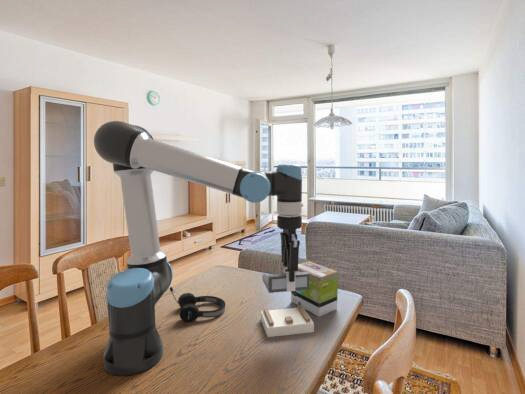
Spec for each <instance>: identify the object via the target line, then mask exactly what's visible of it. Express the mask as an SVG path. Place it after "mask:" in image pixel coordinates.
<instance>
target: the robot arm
mask: <svg viewBox="0 0 525 394" xmlns="http://www.w3.org/2000/svg"><path fill="white" fill-rule="evenodd" d="M93 144H94V148H95V149H94V150H95V151H96V153H97V154H98V156H99V157H101V158H102V160H104V161H106V162H108V163H110V164H112V167H113V168H112V170H113V173H114V174H115V175H117V176H118V177H119V178H120V185H121V191H122V198H123V199H122V200H123V206H124V213H125V220H126V227H127V228H126V229H127V234H128V242H129V249H130V256H129V257H128V259H127V260H126V268H127V269H124V270H123V271H120V272H117V273H115V274H114V275H112V276H111V277H110V278H109V280H108V281H107V284H106V294H105V299H106V306H107V323H108V334H109V336H108V339H107V343H106V346H105V350H104V353H103V358H102V359H103V368H104V370H105V371H106V373H108V374H111V375H114V376H124V377H125V376H131V375H136V374H139V373H141V372H144V371H146V370H149V369H151V368H152V367H153V366H155V365H156V364H157V363H158V362H159V361H160V360H161V359H162V357H163V355H164V344H163V340H162V338H161V336H160V333H159V331H158V329H157V326H156V311H155V310H156V309H155V308H156V305H157V303H158V302H159V301H160V299H161V298H162V297H163V295H165V293H166V292H168V291H167V290H168V289H170V287H171V284H172V281H173V277H174V272H173V267H172V265H171V264H170V262H168V259H167V254H166V252H164V251H163V250H161V244H160V236H159V228H158V222H157V214H156V206H155V200H154V199H155V198H154V190H153V184H152V183H153V182H152V173H153V172H158V173H161V174H165V175H167V176H171V177H174V178H178V179H180V180H184V181H188V182H191V183H194V184H198V185H200V186H204V187H208V188H210V189H213V190H214V189H215V190H217V191H221V192H224V193H227V194H230V195H233V196H236V197H239V198H243V199H244V200H245V201H248V202H250V203H254V204H255V203H256V204H257V203H261V202H263V201H265V199H267V198H268V197H269V196H270V197H273V196H274V197H275V196H276V214H277V216H276V223H277V224H276V226H277V227H278V229H281V230H282V231H281V232H280V233H279V235H280V244H281V245H280V248H281V249H280V251H281V263H282V265H283V273H286V291H285V292H291V291H295V271H298V264H299V255H300V243H301V242H300V240H298V234H297V229H298V230H299V229H301V228H302V227H303V225H302V224H303V223H302V222H303V221H302V219H303V218H302V215H301V214H302V212H303V211H302V208H303V207H304V204H303V203H302V201H303V200H302V198H303V192H302V191H303V176H302V175H303V174H302V166H301V165H299V164H278V165H277V166H276V170H272V171H271V170H270V171H267V170H265V171H263V170H262V171H258V170H255V171H254V170H251V169H248V168H246V167H245V168H244V167H241V166H238V165H235V164H232V163H230V162H226V161H223V160H219V159H216V158H212V157H210V156H206V155H203V154H200V153H196V152H193V151H191V150H187V149H185V148H181V147H179V146H178V147H177V146H175V145H171V144H168V143H165V142H162V141H158V140H156V139H155V137H154V135H153V133H151V132H150V131H148V130H147V129H146V128H144V127H143V126H140V125H136V124H130V123H127V122H124V121H120V120H111V121H107V122H105V123H104V124H102V125H100V127H99V128H97V130H96V132H95V134H94V137H93Z"/></svg>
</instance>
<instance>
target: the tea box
mask: <svg viewBox="0 0 525 394" xmlns="http://www.w3.org/2000/svg"><path fill="white" fill-rule="evenodd" d="M296 272H308V273H309V289H308V290H297V291H290V299H291V300H290V301H291V303H294V304H295V305H296V306H297V305H301V307H303V308H304V309H305V311H308V312H309V313H311V314H313V315H315V317H316V316H317V318H320V317H322V316H325V315H327V314H330V313H332V312H334V311H336V310H337V309H338V294H339V290H338V288H339V287H338V286H339V272H338V271H337V270H334V269H331V268H330V267H329V268H328V267H327V266H324V265H321V264H318V263H316V262H312V261H310V260H309V261H308V260H307V261H305V262H302V263H298V271H295V273H296ZM331 311H332V312H331ZM329 312H330V313H329Z"/></svg>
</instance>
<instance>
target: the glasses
mask: <svg viewBox="0 0 525 394" xmlns="http://www.w3.org/2000/svg"><path fill="white" fill-rule="evenodd" d="M261 276H262V278H261V280H262V282H263V285H264V286H265V287H266V290H267V292H268V294H271V293H272V294H273V293H284V292H287V291H286V273H284V272H283V273H272V274H266V273H263V274H262V275H261ZM308 289H309V273H308V272H296V273H295V291H297V290H308Z"/></svg>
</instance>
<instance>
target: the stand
mask: <svg viewBox="0 0 525 394" xmlns="http://www.w3.org/2000/svg"><path fill="white" fill-rule="evenodd" d="M260 320H261V324H262V326H263V329H264V332H265V334H266V338H273V337H274V338H275V337H281V336H291V335H299V334H309V333H314V332H315V322H314V321H313V319H312V318H311V316H310V315H309V313H308V312H307V310H306V309H304V308H303V307H301V305H297V304H296V307H290V308H279V309H272V310H271V309H268V307H263V310H261V311H260Z"/></svg>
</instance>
